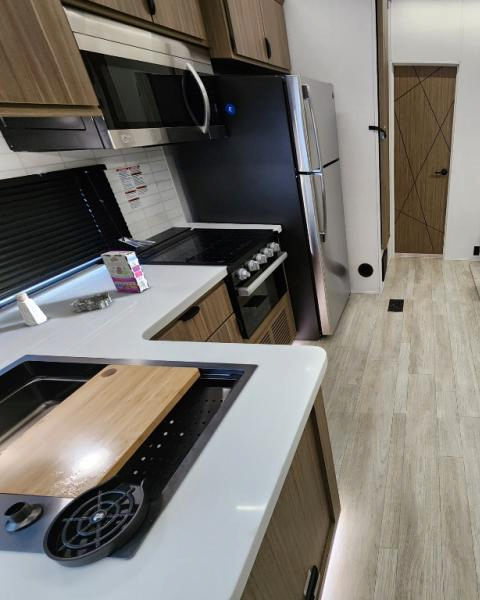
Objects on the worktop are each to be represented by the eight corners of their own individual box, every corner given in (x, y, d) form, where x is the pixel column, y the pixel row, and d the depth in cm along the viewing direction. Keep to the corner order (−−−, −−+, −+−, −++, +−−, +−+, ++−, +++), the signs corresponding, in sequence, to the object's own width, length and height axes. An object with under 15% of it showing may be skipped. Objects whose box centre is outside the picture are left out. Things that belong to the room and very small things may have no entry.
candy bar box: (150, 287, 141) (135, 251, 133) (141, 292, 136) (125, 255, 128) (126, 286, 142) (110, 250, 134) (116, 291, 137) (99, 254, 130)
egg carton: (114, 300, 131) (110, 290, 129) (105, 309, 125) (101, 299, 123) (82, 303, 128) (77, 294, 127) (71, 313, 122) (66, 303, 120)
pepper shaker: (27, 327, 114) (8, 299, 108) (25, 322, 117) (7, 294, 112) (48, 321, 117) (31, 293, 112) (46, 316, 120) (30, 289, 115)
